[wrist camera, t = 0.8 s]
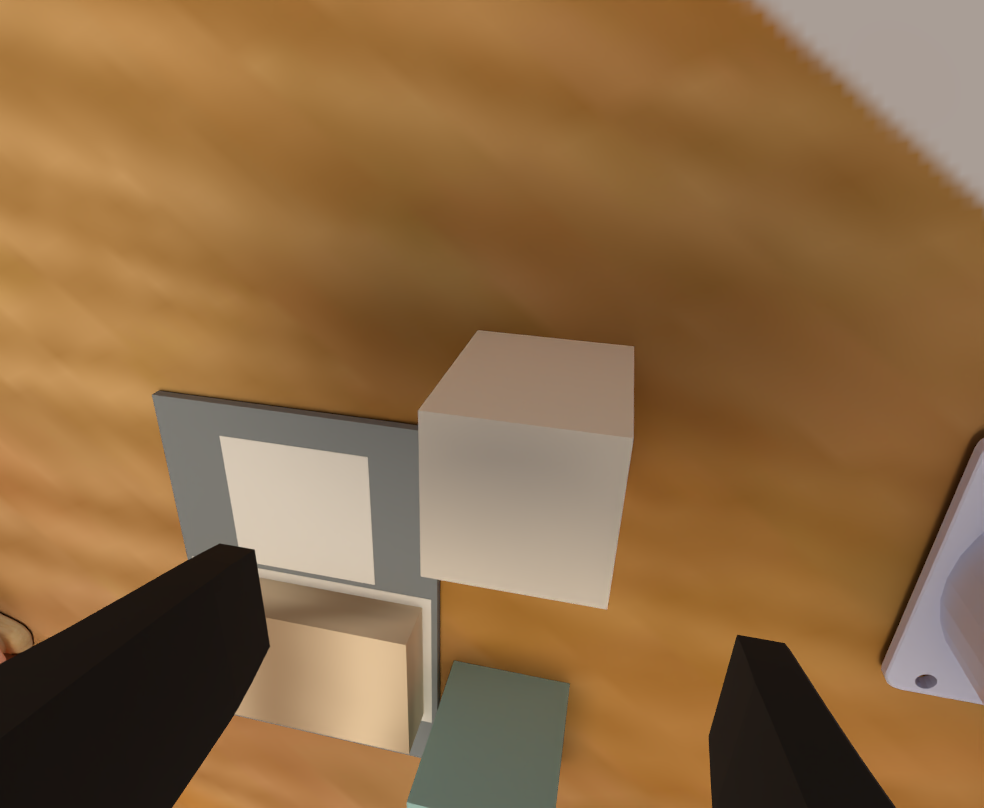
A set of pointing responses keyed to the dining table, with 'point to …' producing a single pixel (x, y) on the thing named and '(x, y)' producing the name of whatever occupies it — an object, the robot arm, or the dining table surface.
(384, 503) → the slate mat
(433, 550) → the cream block
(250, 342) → the dining table surface
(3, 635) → the grandmother figurine
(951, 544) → the robot arm
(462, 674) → the teal block
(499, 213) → the dining table surface
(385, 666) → the beech brick
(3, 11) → the dining table surface
